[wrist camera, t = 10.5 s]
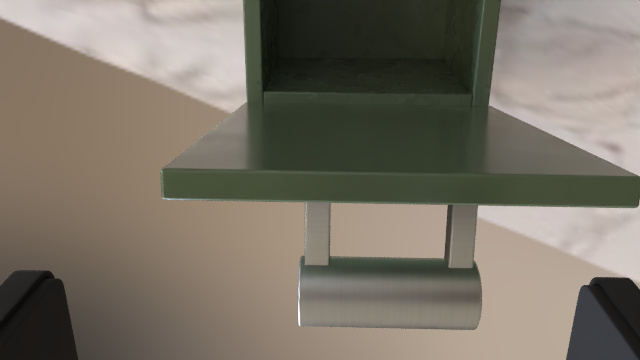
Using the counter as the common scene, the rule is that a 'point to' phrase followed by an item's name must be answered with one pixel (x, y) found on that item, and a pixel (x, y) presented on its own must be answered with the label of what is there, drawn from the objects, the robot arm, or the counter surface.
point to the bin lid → (391, 194)
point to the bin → (370, 51)
